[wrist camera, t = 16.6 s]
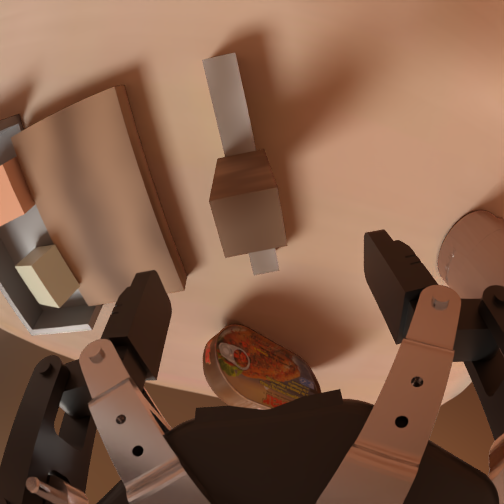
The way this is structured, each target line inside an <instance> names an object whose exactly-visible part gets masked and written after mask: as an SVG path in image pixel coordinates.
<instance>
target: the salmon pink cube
mask: <svg viewBox="0 0 504 504" xmlns="http://www.w3.org/2000/svg"><path fill="white" fill-rule="evenodd" d="M34 205H35V202H34V200H33V197H32V195H31V192H30V190H29V187H28V185H27V182H26V180H25V177H24V175H23V172H22V169H21V167H20V164H19V161H18V158H17V156H16V157H15V158H13V159H11V160H9V161H8V162H6V163H4V164H2V165H1V166H0V226H2V225H4V224H6V223H8V222H10V221H12V220H14V219H16V218H18V217H20V216H22V215H24V214H25V213H26V212H27V211H28V210H30V209H31V208H32V207H33V206H34Z"/></svg>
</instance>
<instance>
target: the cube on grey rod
mask: <svg viewBox="0 0 504 504" xmlns="http://www.w3.org/2000/svg"><path fill="white" fill-rule="evenodd" d="M202 61H203V65H204V70H205V74H206V78H207V82H208V87H209V91H210V95H211V99H212V103H213V108H214V112H215V116H216V120H217V124H218V129H219V133H220V137H221V141H222V145H223V150H224V154H225V157H223V158H218V159H217V164H216V169H215V174H214V179H213V184H212V189H211V194H210V199H209V203H210V206H211V210H212V213H213V217H214V220H215V224H216V227H217V231H218V234H219V238H220V241H221V245H222V248H223V252H224V255H225V258H227V257H232V256H237V255H242V254H248V253H249V257H250V262H251V266H252V270H253V274H254V275H259V274H264V273H269V272H274V271H279V266H278V260H277V255H276V250H275V248H279V247H284V246H287V241H286V235H285V229H284V223H283V217H282V211H281V205H280V199H279V193H278V188H277V185H276V182H275V179H274V176H273V173H272V170H271V167H270V165H269V162H268V159H267V156H266V153H265V151H264V149H262V150H257V151H256V147H255V142H254V137H253V133H252V128H251V123H250V118H249V114H248V109H247V104H246V100H245V95H244V90H243V86H242V81H241V77H240V72H239V67H238V63H237V59H236V54H235V53H231V54H226V55H221V56H217V57H212V58H208V59H204V60H202Z"/></svg>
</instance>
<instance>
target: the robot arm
mask: <svg viewBox="0 0 504 504" xmlns="http://www.w3.org/2000/svg"><path fill="white" fill-rule="evenodd" d="M438 270H439V273H440V275H441V277H442V278H443V280H444V281H445V282H446V284H447V285H448V286H449V287H450V288H449V287H447V286H443V285H438V284H437V282H436V281H435V279H434V278H433V277H432V275H431V274H430V273H429V271H428V270H427V269H426V267H425V266H424V265H423V263H421V261H420V259H419V258H418V257H417V256H416V254H415V253H414V252H413V250H412V249H411V248H410V246H408V245H406V244H405V243H403V242H401V241H400V240H396V241H393V240H392V239H391V237H390V236H389V235H388V233H387V232H386V231H385V230H378V231H372V232H367V233H365V235H364V273H365V278H366V281H367V283H368V285H369V288H370V290H371V292H372V294H373V296H374V298H375V300H376V302H377V304H378V306H379V308H380V310H381V312H382V315H383V317H384V319H385V321H386V323H387V325H388V328H389V330H390V332H391V334H392V336H393V339H394V341H395V343H396V344H400V343H401V345H400V348H399V350H398V353H397V355H396V358H395V360H394V363H393V365H392V367H391V370H390V372H389V374H388V377H387V379H386V381H385V383H384V386H383V388H382V390H381V392H380V394H379V396H378V399H377V401H376V403H375V405H373V404H370V403H367V402H363V401H359V400H352V399H342V395H341V391H340V389H339V390H334V391H329V392H324V393H318V394H313V395H307V396H303V397H301V398H298V399H295V400H293V401H290V402H288V403H285V404H282V405H280V406H277V407H274V408H271V409H267V410H262V409H253V408H245V407H237V406H219V407H204V408H196V413H195V418H193V419H191V420H188V421H186V422H183V423H181V424H179V425H177V426H176V427H174V428H173V429H172V428H171V427H170V426H169V424H168V423H167V422H166V420H165V419H164V417H163V415H162V414H161V412H160V411H159V410H158V408H157V406H156V405H155V403H154V402H153V400H152V399H151V397H150V395H149V394H148V392H147V391H146V389H145V388H144V383H145V380H157V376H158V371H159V366H160V362H161V357H162V353H163V348H164V344H165V340H166V335H167V331H168V327H169V323H170V319H171V314H172V308H171V303H170V300H169V297H168V295H167V293H166V291H165V288H164V286H163V284H162V282H161V279H160V277H159V275H158V273H157V271H156V270H150V271H144V272H139V273H136V275H135V277H134V279H133V281H132V283H131V286H130V287H127V288H126V289H125V290H124V291H123V292H122V293H121V294H120V296H119V297H118V300H117V302H116V304H115V307H114V308H113V311H112V315H110V318H109V320H108V322H107V325H106V327H105V329H104V332H103V334H102V336H101V339H99V340H96V341H93V342H91V343H90V344H88V345H87V346H86V347H85V348H84V349H83V351H82V352H81V354H80V358H79V359H78V360H75V361H72V362H69V363H66V364H64V363H63V362H62V361H61V359H60V358H59V357H57V356H55V355H52V356H48V357H45V358H44V359H42V360H41V361H40V362H39V363H38V364H37V365H36V367H35V369H34V371H33V374H32V376H31V378H30V381H29V383H28V386H27V388H26V390H25V393H24V396H23V399H22V401H21V404H20V406H19V409H18V412H17V415H16V417H15V420H14V423H13V426H12V429H11V432H10V435H9V439H8V442H7V445H6V448H5V452H4V455H3V459H2V462H1V466H0V504H89V502H88V499H87V497H86V495H85V490H86V483H87V476H88V470H89V465H90V459H91V454H92V448H93V443H94V438H95V433H96V429H98V431H99V434H100V436H101V438H102V440H103V443H104V445H105V447H106V449H107V451H108V454H109V456H110V458H111V460H112V462H113V464H114V466H115V468H116V470H117V472H118V474H119V476H120V478H121V480H120V481H119V482H118V483H117V484H116V485H115V486H114V487H113V488H112V489H111V490H110V491H109V492H108V493H107V494H106V495H105V496H104V497H103V498H102V499H101V500H100V501H99V502H98V503H97V504H504V219H503V218H497V217H496V216H494V215H493V214H492V213H490V212H488V211H484V210H479V211H474V212H472V213H470V214H467V215H466V216H465V217H463V218H462V219H460V220H459V221H458V222H457V223H456V224H455V225H454V226H453V228H452V229H451V230H450V232H449V233H448V235H447V236H446V238H445V240H444V241H443V244H442V246H441V249H440V252H439V256H438ZM452 362H464V364H465V366H466V368H467V371H468V373H469V375H470V377H471V380H472V382H473V384H474V387H475V389H476V391H477V394H478V396H479V399H480V401H481V404H482V406H483V409H484V412H485V414H486V417H487V420H488V422H489V425H490V428H491V431H492V434H493V437H494V440H495V442H494V443H493V444H492V446H491V449H490V452H489V468H490V470H489V475H488V476H487V475H486V474H484V473H483V472H481V471H480V470H478V469H476V468H474V467H472V466H471V465H469V464H468V463H466V462H464V461H463V460H461V459H459V458H458V457H456V456H454V455H453V454H451V453H449V452H448V451H446V450H444V449H443V448H441V447H440V446H438V445H436V444H435V443H433V442H432V441H430V440H429V438H430V435H431V432H432V430H433V427H434V424H435V421H436V418H437V415H438V412H439V409H440V406H441V402H442V399H443V396H444V392H445V389H446V385H447V381H448V378H449V374H450V370H451V366H452ZM59 407H61V408H62V409H63V410H64V411H65V414H64V417H63V421H62V424H61V428H60V432H59V436H58V435H57V434H56V432H55V429H54V421H55V418H56V414H57V411H58V408H59Z"/></svg>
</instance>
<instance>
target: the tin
mask: <svg viewBox="0 0 504 504" xmlns="http://www.w3.org/2000/svg"><path fill="white" fill-rule="evenodd" d="M203 370H204V375H205V377H206V380H207V382H208V384H209V386H210V387H211V389H212V390H213V391H214V393H215V394H216V395H217V396H218V397H219V398H220V399H221V400H222V401H223V402H225V403H226V404H228V405H230V406H237V407H245V408H253V409H262V410H267V409H271V408H274V407H277V406H280V405H282V404H285V403H288V402H290V401H293V400H295V399H298V398H301V397H303V396H307V395H313V394H318V393H321V389H320V386H319V383H318V381H317V379H316V377H315V375H314V373H313V372H312V370H311V368H310V367H309V366H308V365H307V364H306V362H305V361H304V360H303V359H301V358H300V357H299V356H297V355H296V354H294V353H292V352H290V351H288V350H287V349H285V348H283V347H281V346H279V345H278V344H276V343H274V342H272V341H270V340H269V339H267V338H265V337H264V336H262V335H260V334H258V333H257V332H255V331H253V330H251V329H250V328H248V327H245V326H242V325H236V324H234V325H229V326H226V327H225V328H223V329H222V330H221V331H220V332H219V333H218V334H217V335H215V336H214V337H213V338H212V339H210V340H209V342H208V343H207V344H206V346H205V349H204V353H203Z"/></svg>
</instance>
